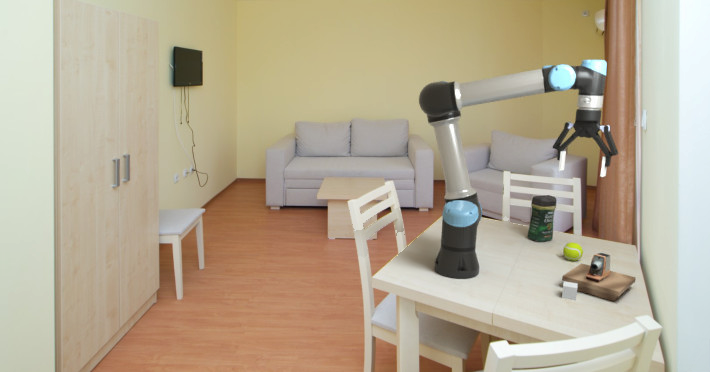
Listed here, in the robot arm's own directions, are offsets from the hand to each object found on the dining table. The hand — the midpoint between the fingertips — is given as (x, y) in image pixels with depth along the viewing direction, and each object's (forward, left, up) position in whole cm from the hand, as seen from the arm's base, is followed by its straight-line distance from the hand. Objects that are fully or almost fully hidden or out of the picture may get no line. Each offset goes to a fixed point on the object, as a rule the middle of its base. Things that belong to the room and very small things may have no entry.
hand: (581, 173), depth 173 cm
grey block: (+8, -21, -35) cm, 41 cm away
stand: (+12, -8, -35) cm, 38 cm away
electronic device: (+12, -9, -31) cm, 34 cm away
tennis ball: (-4, +12, -35) cm, 37 cm away
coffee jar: (-23, +27, -35) cm, 50 cm away
